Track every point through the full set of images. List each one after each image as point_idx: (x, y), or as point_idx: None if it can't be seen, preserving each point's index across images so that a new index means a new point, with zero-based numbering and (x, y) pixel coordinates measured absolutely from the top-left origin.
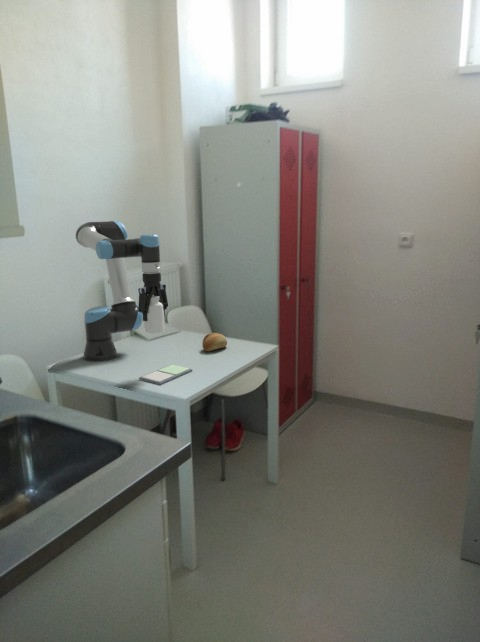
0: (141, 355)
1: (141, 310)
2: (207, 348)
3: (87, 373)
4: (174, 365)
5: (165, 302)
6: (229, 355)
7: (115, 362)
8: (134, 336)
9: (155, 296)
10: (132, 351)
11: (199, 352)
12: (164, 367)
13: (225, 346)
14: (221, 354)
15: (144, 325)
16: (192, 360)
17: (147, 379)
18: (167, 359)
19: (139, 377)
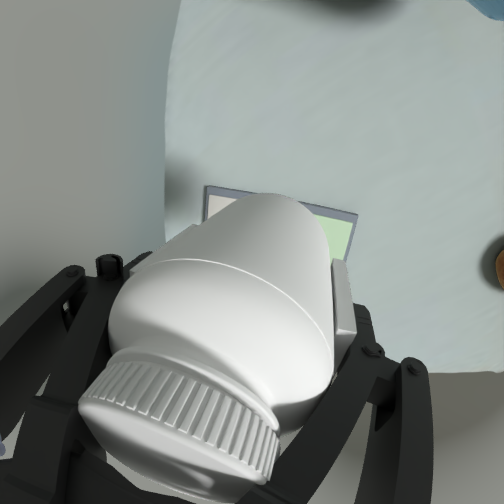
0: (418, 58)
1: (67, 306)
2: (497, 269)
3: (188, 24)
4: (347, 235)
5: (369, 434)
6: (472, 322)
7: (312, 17)
8: None
9: (182, 485)
10: (433, 17)
11: (494, 237)
12: (323, 209)
13: None
14: (480, 301)
15: (184, 232)
16: (427, 251)
17: (206, 219)
18: (418, 166)
19: (208, 187)
